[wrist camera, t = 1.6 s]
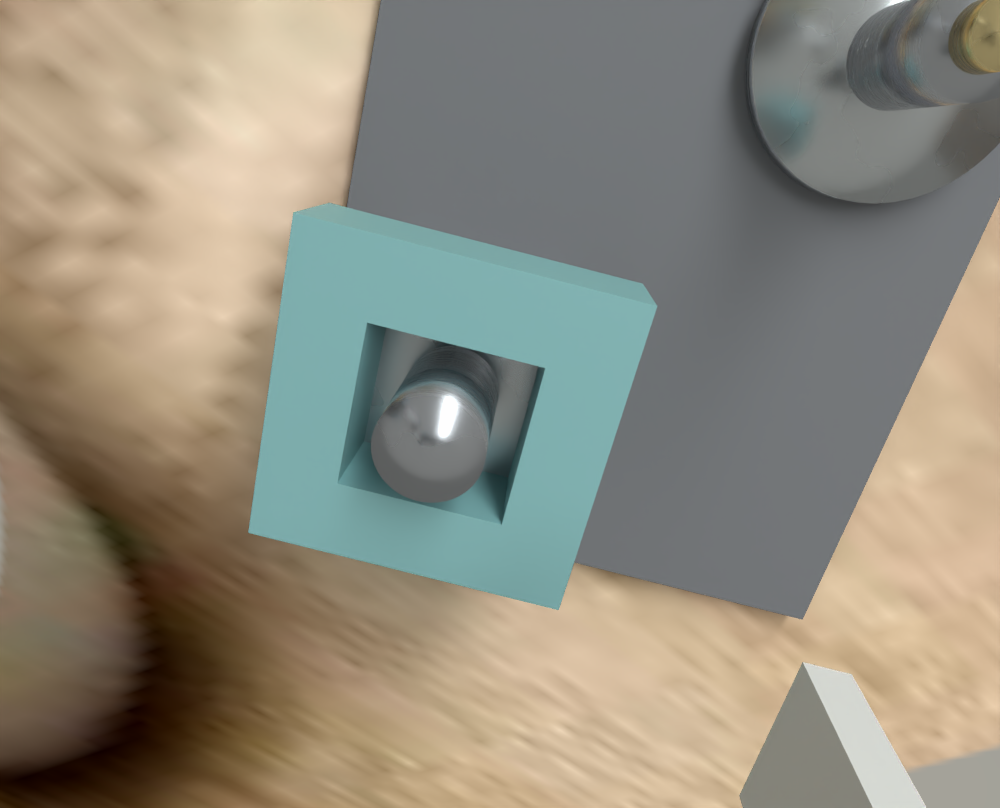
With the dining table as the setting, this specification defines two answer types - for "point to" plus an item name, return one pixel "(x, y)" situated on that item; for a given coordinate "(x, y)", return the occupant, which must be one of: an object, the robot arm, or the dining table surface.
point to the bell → (875, 93)
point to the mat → (677, 264)
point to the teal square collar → (463, 322)
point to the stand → (444, 415)
